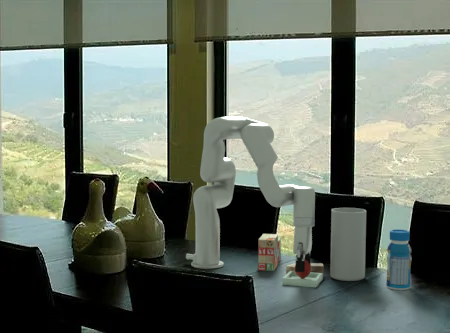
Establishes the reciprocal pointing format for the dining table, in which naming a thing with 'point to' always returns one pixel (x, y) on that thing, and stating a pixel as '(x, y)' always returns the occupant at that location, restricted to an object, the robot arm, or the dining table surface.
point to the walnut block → (317, 267)
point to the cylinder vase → (348, 244)
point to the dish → (295, 280)
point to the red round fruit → (307, 270)
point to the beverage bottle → (399, 260)
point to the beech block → (290, 267)
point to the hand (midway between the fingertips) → (303, 268)
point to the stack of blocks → (269, 252)
